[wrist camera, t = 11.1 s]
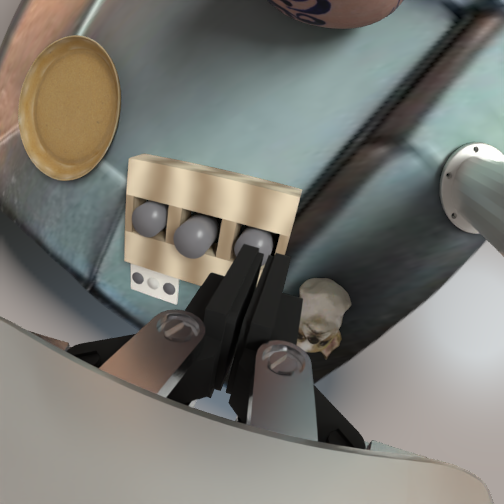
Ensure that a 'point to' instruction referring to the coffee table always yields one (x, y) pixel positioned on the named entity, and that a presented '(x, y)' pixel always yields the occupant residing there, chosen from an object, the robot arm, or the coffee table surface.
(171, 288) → the pattern card
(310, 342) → the ceramic sculpture
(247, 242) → the button
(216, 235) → the middle button
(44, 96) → the plant saucer
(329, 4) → the ceramic pitcher
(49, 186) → the coffee table surface
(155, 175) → the button board
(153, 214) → the button
